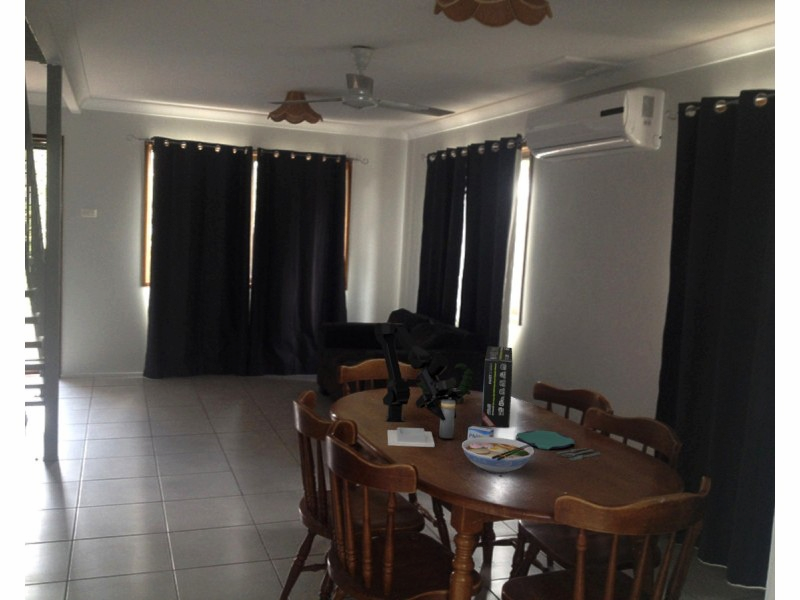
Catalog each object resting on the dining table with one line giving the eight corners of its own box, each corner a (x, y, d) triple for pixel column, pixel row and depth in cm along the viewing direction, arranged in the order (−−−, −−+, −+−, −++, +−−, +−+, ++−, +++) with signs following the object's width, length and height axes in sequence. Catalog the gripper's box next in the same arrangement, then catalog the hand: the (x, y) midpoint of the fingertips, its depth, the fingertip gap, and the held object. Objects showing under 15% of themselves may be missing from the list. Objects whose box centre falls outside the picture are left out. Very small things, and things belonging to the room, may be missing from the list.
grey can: (438, 433, 262) (440, 398, 261) (452, 434, 262) (454, 399, 261) (439, 437, 257) (441, 402, 256) (454, 438, 257) (456, 402, 256)
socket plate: (387, 432, 265) (388, 423, 265) (431, 434, 266) (431, 425, 265) (388, 445, 249) (388, 435, 249) (434, 447, 250) (434, 437, 249)
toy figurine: (463, 404, 324) (410, 400, 317) (469, 362, 323) (416, 357, 316) (471, 409, 315) (416, 405, 308) (477, 366, 314) (423, 361, 307)
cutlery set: (546, 433, 276) (546, 427, 276) (606, 456, 250) (606, 450, 250) (505, 439, 266) (506, 433, 265) (563, 464, 240) (564, 457, 240)
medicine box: (466, 452, 245) (467, 427, 244) (471, 449, 249) (472, 425, 248) (488, 457, 241) (489, 431, 241) (492, 453, 245) (494, 428, 245)
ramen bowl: (487, 453, 245) (488, 430, 244) (547, 469, 231) (549, 444, 230) (443, 469, 226) (445, 444, 225) (507, 488, 211) (508, 461, 211)
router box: (483, 405, 316) (487, 345, 313) (508, 407, 314) (512, 347, 312) (480, 426, 280) (484, 358, 278) (509, 429, 279) (513, 360, 277)
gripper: (422, 372, 255) (441, 409, 247) (461, 368, 266) (480, 404, 259) (407, 389, 262) (425, 426, 254) (446, 385, 273) (464, 420, 266)
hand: (449, 419), depth 258 cm, fingers closed on grey can, 5 cm apart
